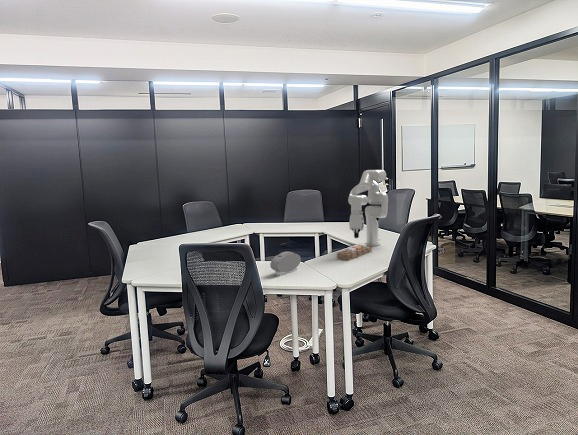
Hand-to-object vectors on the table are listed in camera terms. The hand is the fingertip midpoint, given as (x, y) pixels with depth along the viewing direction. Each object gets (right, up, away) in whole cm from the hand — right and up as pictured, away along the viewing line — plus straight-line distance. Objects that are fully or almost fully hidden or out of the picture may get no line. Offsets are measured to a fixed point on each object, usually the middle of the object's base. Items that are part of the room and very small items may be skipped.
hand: (356, 237), depth 310 cm
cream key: (-4, -11, -4) cm, 12 cm away
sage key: (+6, -9, +8) cm, 13 cm away
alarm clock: (-51, -20, -40) cm, 68 cm away
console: (-1, -13, 0) cm, 13 cm away
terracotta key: (+1, -10, +2) cm, 10 cm away
